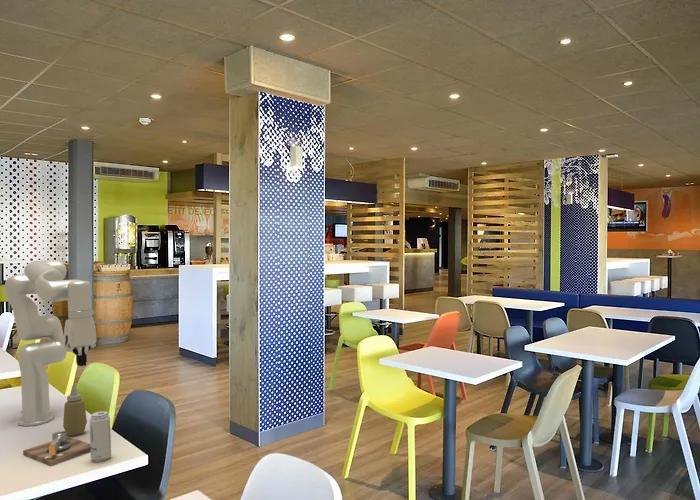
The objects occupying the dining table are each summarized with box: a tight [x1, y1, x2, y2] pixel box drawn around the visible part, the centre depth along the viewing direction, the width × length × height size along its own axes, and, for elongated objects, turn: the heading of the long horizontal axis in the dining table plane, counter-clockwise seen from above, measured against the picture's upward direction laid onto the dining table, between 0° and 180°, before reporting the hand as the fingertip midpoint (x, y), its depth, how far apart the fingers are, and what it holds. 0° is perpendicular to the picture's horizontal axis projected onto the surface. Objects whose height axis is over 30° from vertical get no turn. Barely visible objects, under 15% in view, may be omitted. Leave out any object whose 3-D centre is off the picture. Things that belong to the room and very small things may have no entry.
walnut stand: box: [22, 435, 91, 467], centre depth 181 cm, size 18×15×2 cm
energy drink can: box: [89, 410, 112, 463], centre depth 174 cm, size 6×6×15 cm
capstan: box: [47, 430, 70, 456], centre depth 177 cm, size 13×7×5 cm, turn 18°
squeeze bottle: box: [62, 384, 88, 437], centre depth 199 cm, size 8×8×18 cm
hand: (81, 365), depth 192 cm, fingers closed
